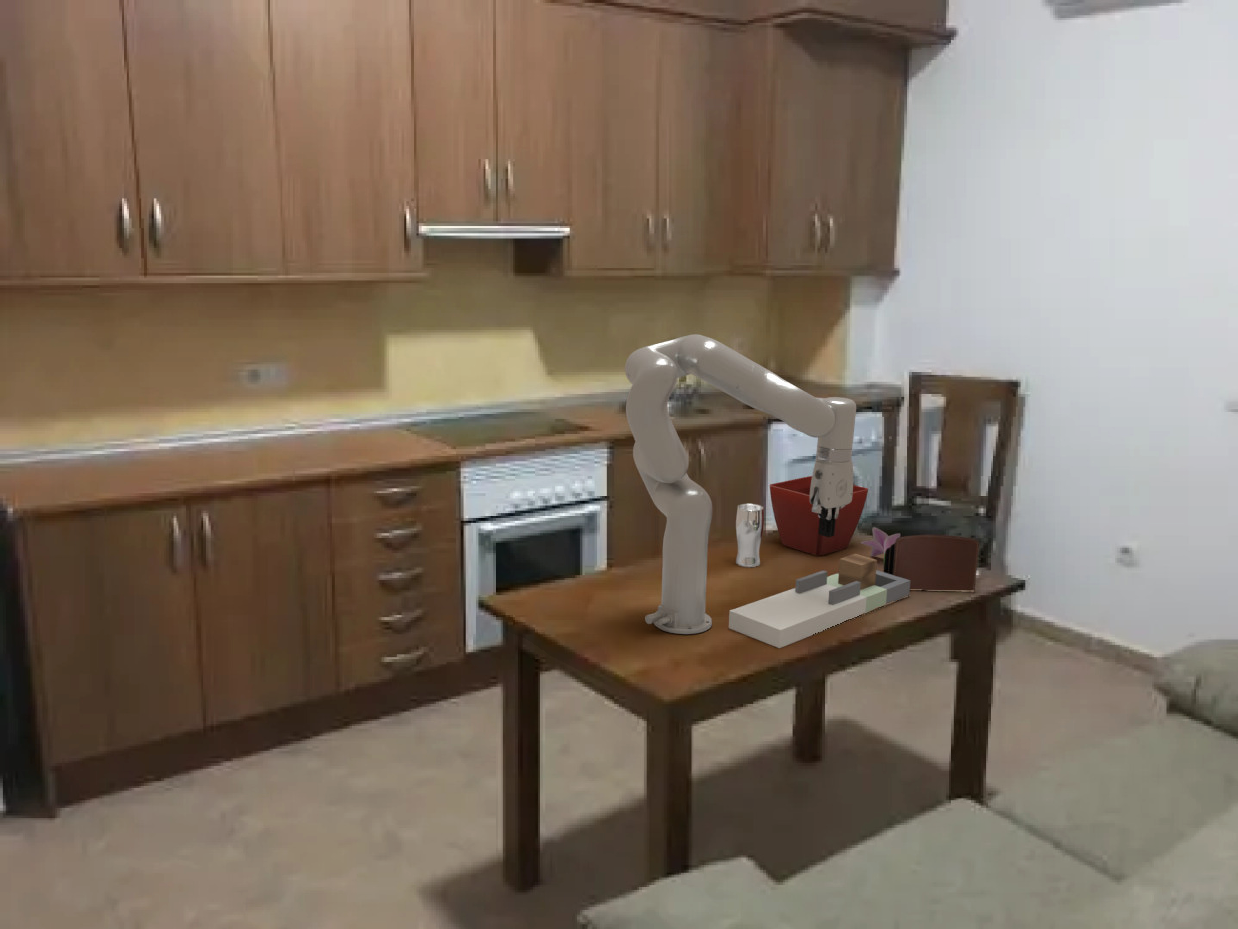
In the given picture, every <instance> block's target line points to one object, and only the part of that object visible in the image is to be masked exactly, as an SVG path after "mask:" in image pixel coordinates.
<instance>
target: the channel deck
mask: <svg viewBox="0 0 1238 929" xmlns="http://www.w3.org/2000/svg"><path fill="white" fill-rule="evenodd" d="M838 577H839V572H837V573H834V574H832V575H829V576H828V571H826V570H820V571H817V572H815V573H812V574H808V575H806V576H803V577H800V578H796V579H795V587H794V588H790V589H789V590H785V591H782V592H780V593H776V594H774V595H771V596H768V597H765V598H762V599H759V600H757V601H753V602H750V603H747V604H745V605H742V606H739V607H737V608H733V609H730V610H729V612H728V613H729V615H728V629H730V630H732V631H735V632H737V633H739V634H743V635H745V636H747V637H749V638H752V639H755V640H758V641H760V642H762V643H765V644H768V645H770V646H773V647H776V648H778V649H781V648H783V647H784V648H785V647H786V646H789V645H792V644H793V643H796V642H798V641H802V640H804V639H806V638H808V637H811V636H813V634H814V635H816V634H819V633H821V632H824V631H826V630H828V629H827V628H829V629H831V628H830V627H832V626H834V627H836V626H835V625H837V624H839V625H841V624H840V623H842V622H844V621H846V620H848V619H852V618H854V617H857V616H859V615H861V614H863V613H867V612H869V611H871V610H873V609H875V608H877V607H881V606H883V605H885V604H887V603H890V602H892V601H896V600H899V599H901V598H903V597H905V596H908V595H909V596H910V592H911V591H910V580H907V579H904V578H901V577H897V576H894V575H891V574H888V573H884V572H883V571H880V570H877V569H876V579H875V585H873V586H870V587H868V588H865V589H862V590H860V587H861V582H858V581H855V582H852V583H849V584H847V585H841V584H838ZM899 601H900V600H899ZM869 613H870V612H869ZM867 614H868V613H867ZM859 617H860V616H859ZM857 618H858V617H857ZM854 619H855V618H854ZM852 620H853V619H852ZM844 623H845V622H844ZM842 624H843V623H842ZM837 626H838V625H837ZM832 628H833V627H832ZM825 629H826V630H825ZM823 630H824V631H823ZM818 632H819V633H818ZM815 633H816V634H815Z"/></svg>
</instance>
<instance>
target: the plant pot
mask: <svg viewBox="0 0 1238 929" xmlns="http://www.w3.org/2000/svg"><path fill="white" fill-rule="evenodd" d="M811 480H812V475H809V476H804V477H799V478H795V479H789V480H784V481H780V482H776V483H775V482H774V483H771V484H769V492H770V500H771V506H772V512H773V517H774V521H775V525H776V529H777V532H778V534H779V538H780V541H781V543H782V546H785V547H789V548H793V549H795V550H798V551H800V552H805V553H808V554H810V555H813V556H823V555H826V554H830V553H834V552H837V551H841V550H844V549H847V548H848V546H849V545H850V543H851V540H852V538H853V536H854V534H855V532H856V529H857V527H858V524H859V522H860V519H861V516H862V514H863V511H864V508H865V504H866V501H867V497H868V493H869V488H867V487H863V486H859V485H855V484H853V495H852V501H851V502H850V503H849V504H847V505H845V506H844V507H843V508H841V509H840V510H839V513H838V517H837V518H836V524H835V534H834V536H832V537H826V536H822V535H819V533H818V531H819V520H820V517H818V513H815V512H812V506H813V505H812V504H811V503H810V487H811Z"/></svg>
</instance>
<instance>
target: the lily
mask: <svg viewBox="0 0 1238 929" xmlns="http://www.w3.org/2000/svg"><path fill="white" fill-rule="evenodd" d="M871 531H872V538H873V540H872V539H871V540H870V539H868V540H864V541H861V542H860V543H861V544H863V545H865V546H868V547H870V548H871V551H870V557H872V556H874V557H878V556H881V555H883V560H884V559H885V551H886V549H887V548H889V547H890V546H891V545H892V544H894V543H895V541H896V539H897V538H899V537H901V533H898V532H897V533H894V534H891V535H888V534H887V533H886V532H884V531H883V530H881V529H880V528H878V527H874V526H873V527H872V530H871Z"/></svg>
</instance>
